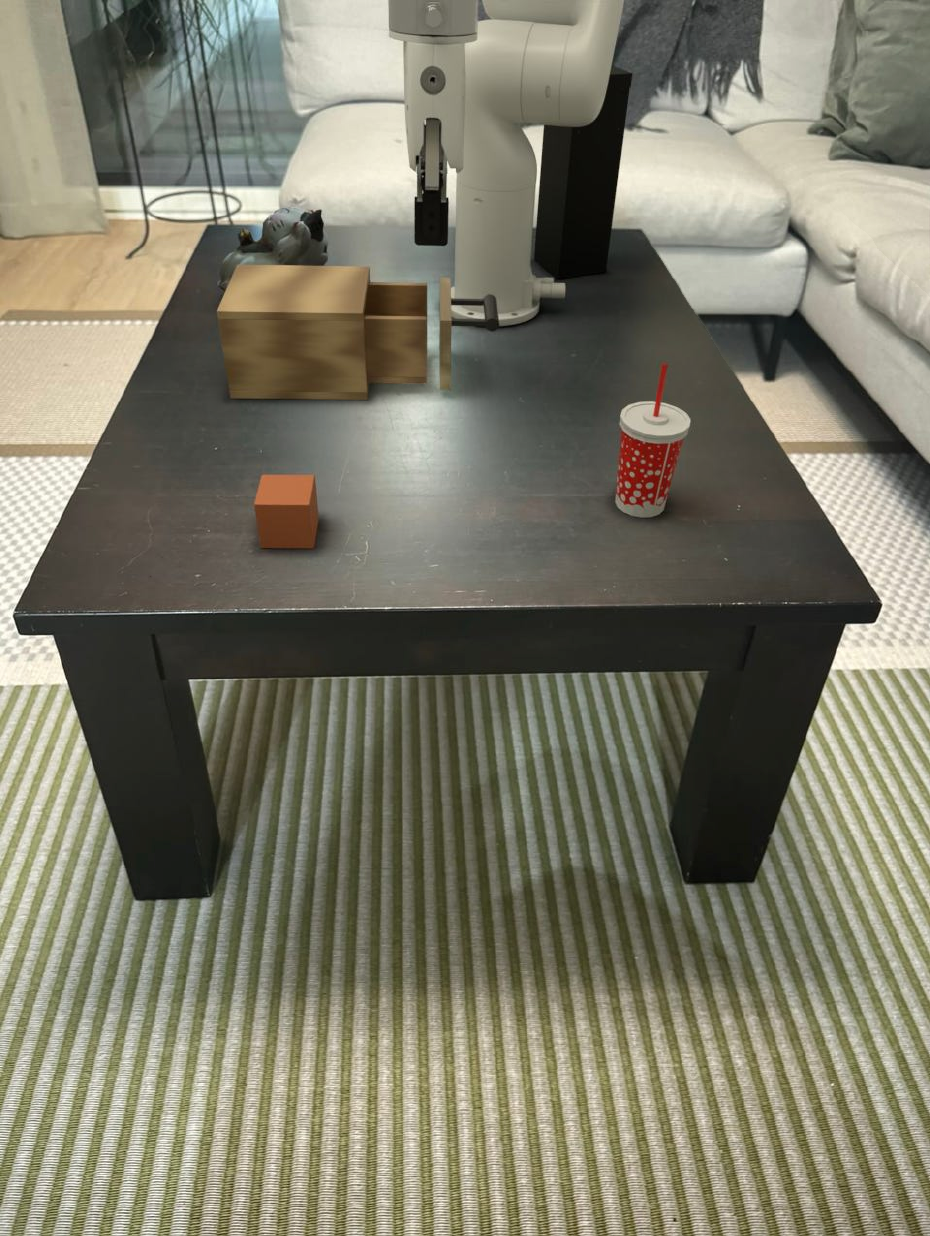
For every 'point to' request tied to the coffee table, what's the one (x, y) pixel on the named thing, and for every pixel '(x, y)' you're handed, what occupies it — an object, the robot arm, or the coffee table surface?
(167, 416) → the coffee table surface
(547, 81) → the robot arm
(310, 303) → the cabinet
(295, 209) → the lucky cat figurine
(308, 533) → the block
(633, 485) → the beverage cup
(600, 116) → the tall black pillar
